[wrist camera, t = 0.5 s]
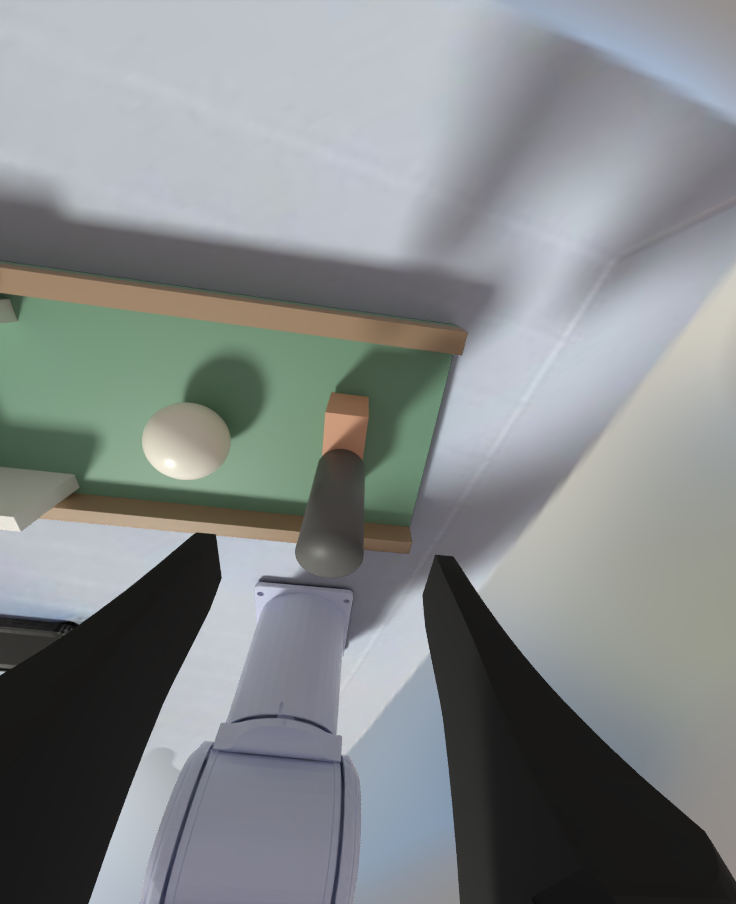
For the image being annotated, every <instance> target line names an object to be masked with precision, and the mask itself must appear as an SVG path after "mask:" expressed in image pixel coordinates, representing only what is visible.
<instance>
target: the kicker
mask: <svg viewBox="0 0 736 904" xmlns="http://www.w3.org/2000/svg"><path fill="white" fill-rule="evenodd" d="M368 418H369V397H366V396H358V395H350V394H342V393H334V392H331V395H330V398H329V402H328V405H327V408H326V411H325V422H324V437H323V451H322V457H321V458H320V460H319V462H318V465H317V469H316V473H315V477H314V480H313V484H312V488H311V492H310V496H309V499H308V503H307V507H306V511H305V515H304V518H303V522H302V526H301V530H300V533H299V537H298V541H297V545H296V549H295V555H296V559H297V561H298V563H299V564H300V565H301V566H302V567H303V568H304V569H305V570H306V571H308V572H310V573H311V574H314V575H316V576H320V577H325V578H338V577H343V576H346V575H348V574H351V573H352V572H354V571H355V570H356V569H357V568H358V567H359V566H360V565H361V563H362V560H363V549H364V497H365V466H364V463H363V454H364V447H365V439H366V432H367V425H368Z"/></svg>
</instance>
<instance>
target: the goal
mask: <svg viewBox="0 0 736 904" xmlns="http://www.w3.org/2000/svg"><path fill="white" fill-rule="evenodd" d="M10 322H17V318H16V315H15V313H14V310H13V307H12V305H11V302H10V299H6V298H0V324H3V323H10ZM78 488H80V487H79V484H78V482H77V479H76V476H75V474H66V473H56V472H46V471H37V470H27V469H18V468H8V467H0V530H10V531H22V530H24V529H25V528H26V527H28V526H29V525H30V524H32V523H33V522H34V521H36V520H37V519H38V518H40V517H41V516H42V515H44V514H45V513H46V512H48V511H49V510H50V509H52V508H53V507H54V506H56V505H57V504H58V503H60V502H61V501H62V500H64V499H65V498H66V497H68V496H69V495H70V494H72V493H73V492H74V491H76V490H77V489H78Z"/></svg>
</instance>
